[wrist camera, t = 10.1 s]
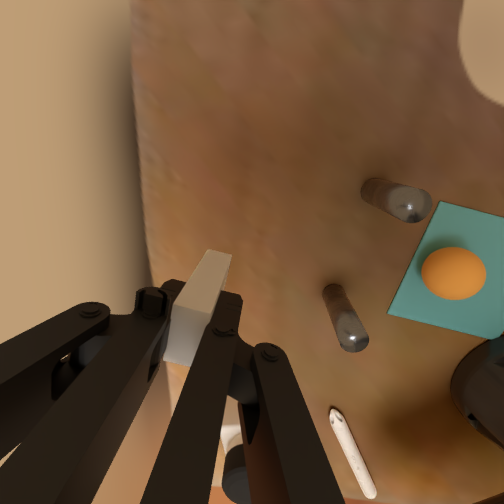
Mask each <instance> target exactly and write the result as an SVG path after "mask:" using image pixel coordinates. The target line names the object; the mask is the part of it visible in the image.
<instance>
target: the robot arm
mask: <svg viewBox="0 0 504 504" xmlns="http://www.w3.org/2000/svg"><path fill="white" fill-rule="evenodd" d="M231 258H232V255H231V254H227V253H223V252H219V251H215V250H211V249H208V250H207V251H206V253H205V254H204V256H203V257H202V259H201V261H200V262H199V264H198V265H197V267H196V268H195V270H194V272H193V273H192V275H191V276H190V278H189V279H188V281H187V282H183V281H179V280H175V279H171V280H169V281H166V282H164V284H163V285H162V286H161V287H160V288H158V287H145V288H142V289H139V290H138V291H137V292H136V300H135V308H134V311H133V312H132V313H131V314H128V315H113V314H110V308H109V307H108V306H106V305H105V304H103V303H98V302H86V303H81V304H78V305H76V306H74V307H72V308H70V309H68V310H66V311H64V312H62V313H60V314H58V315H56V316H54V317H52V318H50V319H48V320H46V321H44V322H43V323H41V324H39V325H37V326H35V327H33V328H31V329H29V330H27V331H25V332H23V333H21V334H19V335H17V336H15V337H14V338H11V339H9V340H7V341H5V342H4V343H2V344H0V460H1V459H2V458H3V457H5V456H6V455H7V454H8V453H9V452H10V451H12V450H13V449H14V448H15V447H16V446H18V445H19V444H20V443H21V444H20V445H19V446H18V447H17V448H16V449H15V451H14V452H13V453H12V454H11V455H10V457H9V458H8V459H7V460H6V461H5V462H4V464H3V465H2V466H1V467H0V504H91V503H92V501H93V499H94V496H95V495H96V493H97V491H98V489H99V487H100V485H101V483H102V481H103V479H104V477H105V475H106V473H107V471H108V469H109V467H110V465H111V463H112V461H113V459H114V457H115V455H116V453H117V451H118V449H119V447H120V445H121V443H122V441H123V439H124V437H125V435H126V433H127V431H128V429H129V427H130V425H131V423H132V422H133V420H134V417H135V416H136V414H137V411H138V410H139V408H140V406H141V404H142V402H143V399H144V398H145V396H146V394H147V392H148V390H149V388H150V386H151V384H152V382H153V380H154V378H155V376H156V374H157V372H158V370H159V366H160V360H161V358H162V356H163V354H164V359H163V360H164V361H168V362H172V363H176V364H180V365H185V366H189V367H190V370H189V373H188V375H187V378H186V381H185V383H184V386H183V389H182V391H181V394H180V397H179V400H178V402H177V405H176V408H175V410H174V413H173V416H172V418H171V421H170V424H169V426H168V429H167V432H166V435H165V437H164V440H163V443H162V445H161V448H160V451H159V454H158V456H157V459H156V462H155V464H154V467H153V470H152V472H151V475H150V478H149V480H148V483H147V486H146V488H145V491H144V494H143V497H142V499H141V502H140V504H208V502H209V495H210V490H211V485H212V479H213V473H214V468H215V462H216V457H217V451H218V445H219V440H220V434H221V428H222V423H223V417H224V411H225V406H226V400H227V395H228V396H230V397H232V398H233V399H235V400H237V401H238V404H237V406H238V413H239V420H240V427H241V434H242V441H243V448H244V455H245V462H246V469H247V476H248V483H249V490H250V497H251V504H345V501H344V499H343V496H342V494H341V491H340V489H339V486H338V484H337V481H336V478H335V476H334V473H333V471H332V468H331V466H330V463H329V461H328V458H327V456H326V453H325V451H324V448H323V446H322V443H321V441H320V438H319V436H318V433H317V431H316V428H315V426H314V423H313V421H312V418H311V415H310V413H309V410H308V408H307V405H306V403H305V400H304V398H303V395H302V393H301V390H300V388H299V385H298V383H297V380H296V378H295V375H294V373H293V370H292V368H291V365H290V363H289V360H288V358H287V355H286V354H285V352H284V351H283V350H282V349H281V348H280V347H278V346H276V345H274V344H271V343H259V344H257V345H256V346H255V347H253V346H251V345H249V344H247V343H245V342H244V341H243V340H242V339H241V338H240V336H239V334H238V327H239V321H240V315H241V310H242V304H243V300H242V298H241V296H240V295H238V294H234V293H230V292H226V291H224V288H225V284H226V279H227V275H228V271H229V267H230V263H231ZM164 352H165V353H164ZM66 355H68V356H67V357H65V356H66ZM63 357H65V358H64V359H62V358H63ZM61 359H62V360H61ZM451 395H452V399H453V401H454V403H455V405H456V407H457V408H458V409H459V411H460V412H461V413H462V415H463V416H464V417H465V419H466V420H467V421H468V422H469V423H470V424H471V425H472V426H473V427H474V428H475V429H476V430H478V431H479V432H480V433H481V434H483V435H484V436H485V437H486V438H488V439H489V440H490V441H492V442H493V443H494V444H495V445H497V446H498V447H499V448H501V449H502V450H503V451H504V335H503V336H500V337H497V338H495V339H492V340H490V341H488V342H486V343H484V344H482V345H481V346H479V347H478V348H476V349H475V350H473V351H472V352H471V353H470V354H469V355H468V356H467V357H466V358H465V359H464V360H463V361H462V362H461V363H460V365H459V366H458V368H457V369H456V371H455V373H454V376H453V378H452V383H451ZM473 504H504V492H503V493H500V494H498V495H495V496H492V497H490V498H487V499H484V500H482V501H479V502H476V503H473Z"/></svg>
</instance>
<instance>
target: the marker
mask: <svg viewBox="0 0 504 504" xmlns="http://www.w3.org/2000/svg"><path fill="white" fill-rule="evenodd" d="M329 419H330V423H331V426H332V428H333V430H334V432H335V434H336V436H337V438H338V440H339V443H340V445H341V447H342V449H343V451H344V453H345V455H346V457H347V459H348V462H349V464H350V466H351V468H352V470H353V472H354V474H355V476H356V478H357V481H358V483H359V485H360V487H361V489H362V491H363V493H364V495H365V496H366V497H367V498H369V499H373V498H375V497H376V495H377V491H376V487H375V485H374V483H373V481H372V479H371V476H370V474H369V472H368V470H367V467H366V465H365V463H364V461H363V459H362V456H361V454H360V452H359V450H358V448H357V445H356V443H355V441H354V439H353V436H352V434H351V432H350V430H349V428H348V425H347V423H346V421H345V419H344V417H343V415H342V414H341V413H340V412H339V411H337V410H335V409H331V411H330V417H329Z"/></svg>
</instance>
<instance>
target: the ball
mask: <svg viewBox="0 0 504 504" xmlns="http://www.w3.org/2000/svg"><path fill="white" fill-rule="evenodd" d="M421 275H422V279H423V282H424V284H425V285H426V287H427V288H428V289H429V290H430V291H431V292H432V293H434V294H435V295H437V296H439V297H441V298H444V299H449V300H462V299H466V298H469V297H471V296H473V295H475V294H476V293H477V292H479V291H480V289H481V288H482V287H483V285H484V283H485V280H486V269H485V266H484V264H483V262H482V261H481V260H480V258H479V257H478V256H477V255H475V254H474V253H472V252H471V251H469V250H466V249H463V248H459V247H446V248H442V249H439V250H436V251H435V252H433V253H431V254H430V255H429V256H428V257H427V258H426V260H425V261H424V263H423V266H422V270H421Z"/></svg>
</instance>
